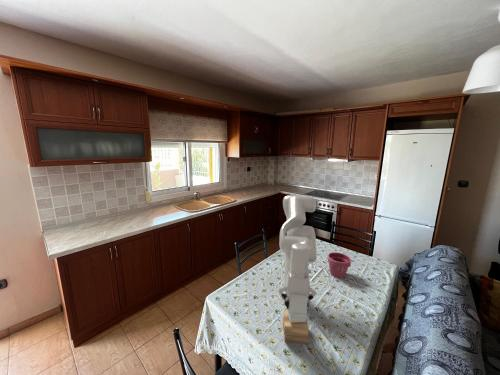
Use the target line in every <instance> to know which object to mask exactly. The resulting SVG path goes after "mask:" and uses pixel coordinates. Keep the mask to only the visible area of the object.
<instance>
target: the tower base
mask: <svg viewBox="0 0 500 375" xmlns="http://www.w3.org/2000/svg"><path fill="white" fill-rule="evenodd" d="M282 327H283V331H284V316H283V317H282ZM283 338H284V343H289V344H303V345H309V336H308V337H302V336H294V335H287V334H284V333H283Z"/></svg>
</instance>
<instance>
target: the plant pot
mask: <svg viewBox="0 0 500 375" xmlns="http://www.w3.org/2000/svg"><path fill="white" fill-rule="evenodd" d="M327 262H328V266H329V267H328V268H329V272H330V275H331V276H334V277H333V278H335V277H336V279H340V278H341V279H344V278H345V277H346V275H347V272H348V269H349V268H350V267H351V264H352V259H351V257H350V256H348V255H347V254H344V253H342V252H336V251H334V252H329V253H328V254H327Z"/></svg>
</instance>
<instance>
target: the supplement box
mask: <svg viewBox="0 0 500 375" xmlns="http://www.w3.org/2000/svg"><path fill="white" fill-rule="evenodd" d="M288 300H289V306H288V309H287V308H285V309H286V310H287V313H288V317H289V320H290V322H306V317H307V312H308V307H307V301H308V297H307V295H295V294H290V297H289V299H288Z"/></svg>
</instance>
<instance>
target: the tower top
mask: <svg viewBox="0 0 500 375" xmlns="http://www.w3.org/2000/svg"><path fill="white" fill-rule="evenodd" d="M283 317H284V330H283V335H284V334H287V335H294V336H302V337H309V326H308V325H309V324H308V318H307V317H308V316H306V322H290V320H289V317H288V313H287V310H286V308H284V309H283Z"/></svg>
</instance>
